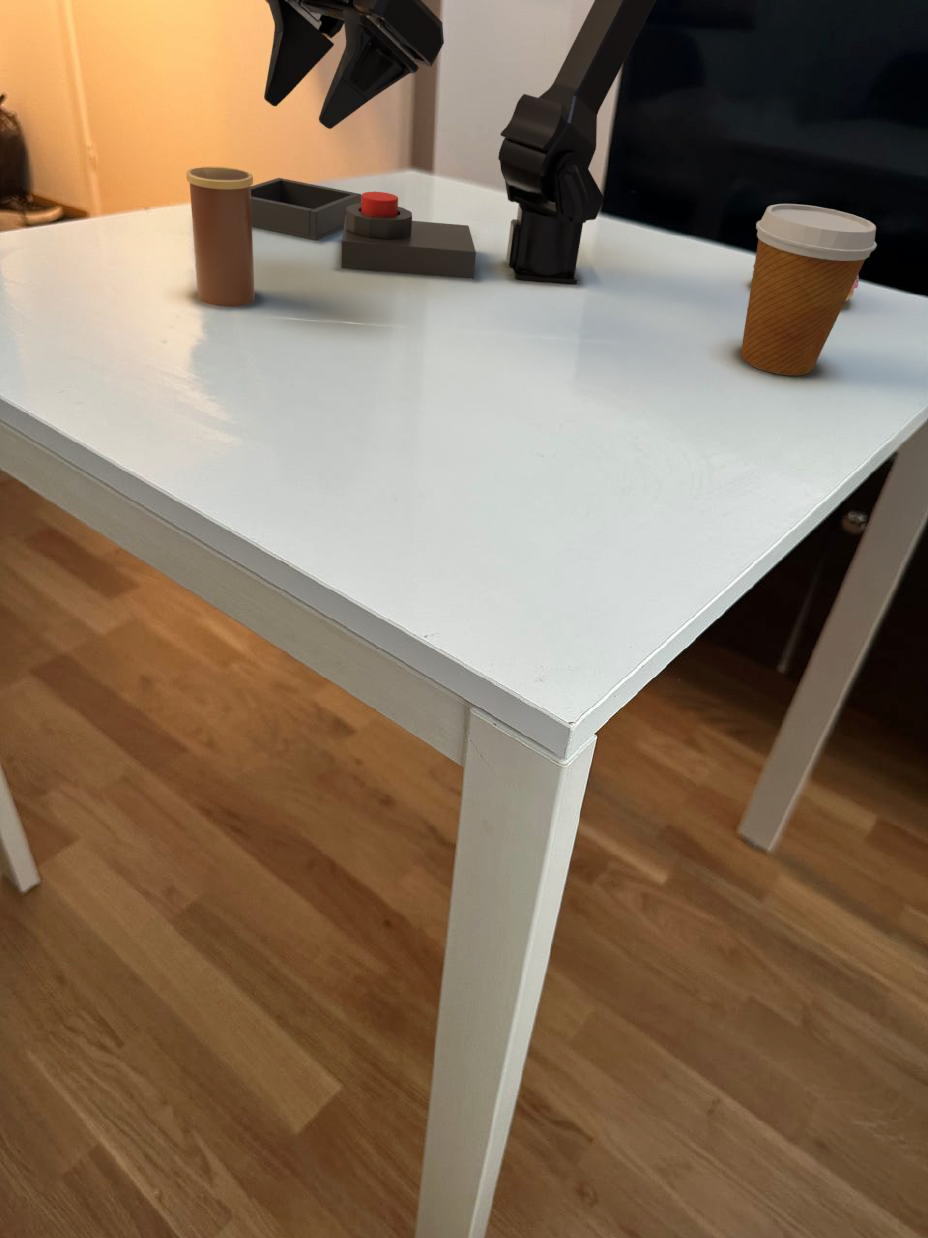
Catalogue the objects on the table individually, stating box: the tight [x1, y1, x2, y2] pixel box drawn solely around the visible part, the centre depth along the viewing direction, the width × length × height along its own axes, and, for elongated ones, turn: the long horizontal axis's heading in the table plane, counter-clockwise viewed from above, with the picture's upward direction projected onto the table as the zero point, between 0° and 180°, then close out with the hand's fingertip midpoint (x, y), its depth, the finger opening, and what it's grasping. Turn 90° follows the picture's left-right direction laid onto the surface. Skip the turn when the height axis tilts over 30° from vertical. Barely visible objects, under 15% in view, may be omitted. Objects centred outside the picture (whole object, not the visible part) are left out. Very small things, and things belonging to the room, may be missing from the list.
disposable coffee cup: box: [739, 203, 878, 376], centre depth 77 cm, size 10×10×12 cm
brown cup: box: [185, 166, 256, 307], centre depth 77 cm, size 5×5×10 cm
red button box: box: [340, 202, 477, 280], centre depth 94 cm, size 13×10×4 cm
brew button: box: [361, 191, 399, 217], centre depth 92 cm, size 4×4×2 cm
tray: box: [251, 177, 363, 242], centre depth 101 cm, size 11×11×3 cm
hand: (295, 113), depth 72 cm, fingers open, 9 cm apart
